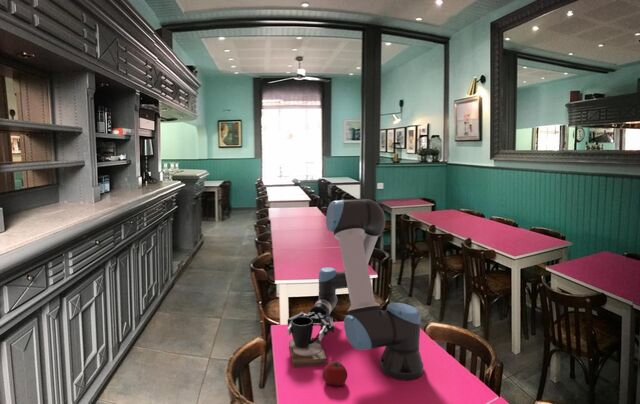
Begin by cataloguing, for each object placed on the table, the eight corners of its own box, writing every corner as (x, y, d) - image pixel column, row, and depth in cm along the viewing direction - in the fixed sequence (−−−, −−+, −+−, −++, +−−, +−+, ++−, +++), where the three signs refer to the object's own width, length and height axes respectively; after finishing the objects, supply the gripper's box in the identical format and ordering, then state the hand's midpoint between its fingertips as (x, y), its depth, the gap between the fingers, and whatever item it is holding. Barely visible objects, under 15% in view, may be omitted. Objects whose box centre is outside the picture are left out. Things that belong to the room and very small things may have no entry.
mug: (320, 352, 143) (320, 327, 142) (288, 348, 145) (288, 324, 144) (324, 341, 151) (324, 318, 150) (294, 338, 153) (294, 315, 152)
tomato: (335, 373, 137) (335, 354, 136) (351, 383, 131) (352, 363, 130) (318, 382, 131) (318, 362, 130) (334, 393, 125) (335, 372, 124)
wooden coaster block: (326, 364, 142) (326, 357, 142) (293, 367, 140) (293, 360, 140) (319, 343, 158) (319, 336, 157) (289, 345, 156) (289, 338, 155)
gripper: (348, 323, 162) (335, 348, 141) (294, 316, 168) (274, 339, 148) (348, 306, 161) (335, 329, 140) (294, 299, 167) (273, 320, 147)
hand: (303, 334), depth 144 cm, fingers closed on mug, 12 cm apart
